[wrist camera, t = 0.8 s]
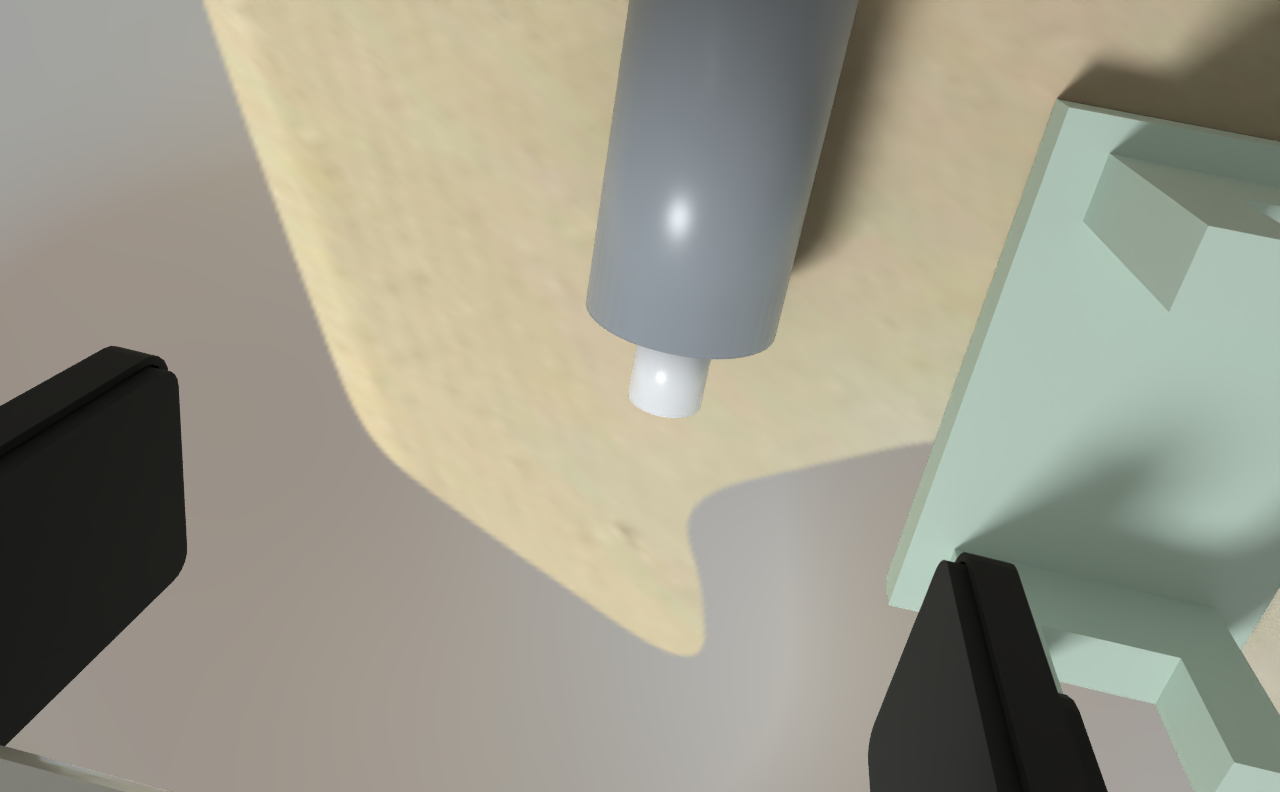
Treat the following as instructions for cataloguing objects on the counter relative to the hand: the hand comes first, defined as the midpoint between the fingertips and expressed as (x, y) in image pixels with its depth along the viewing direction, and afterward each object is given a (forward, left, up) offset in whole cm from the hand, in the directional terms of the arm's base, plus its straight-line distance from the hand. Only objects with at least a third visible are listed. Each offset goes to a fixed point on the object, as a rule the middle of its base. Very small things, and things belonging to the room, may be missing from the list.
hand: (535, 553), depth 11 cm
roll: (-1, +1, -21) cm, 21 cm away
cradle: (+5, +16, -21) cm, 27 cm away
